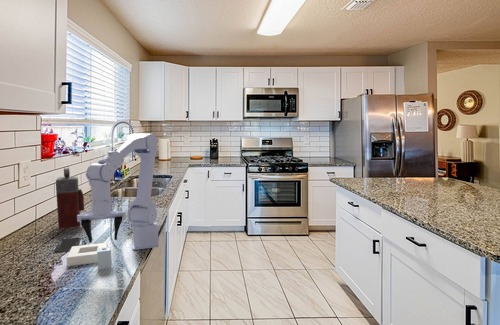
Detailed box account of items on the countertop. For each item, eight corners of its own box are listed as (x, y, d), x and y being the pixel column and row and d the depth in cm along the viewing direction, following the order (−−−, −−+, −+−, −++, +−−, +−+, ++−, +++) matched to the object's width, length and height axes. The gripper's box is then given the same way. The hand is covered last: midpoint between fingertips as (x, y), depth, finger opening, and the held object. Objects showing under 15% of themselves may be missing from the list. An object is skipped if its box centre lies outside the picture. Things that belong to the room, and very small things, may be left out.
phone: (54, 250, 127) (60, 239, 141) (54, 253, 127) (60, 242, 141) (77, 248, 130) (81, 237, 144) (77, 251, 130) (81, 239, 144)
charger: (111, 263, 116) (110, 245, 116) (111, 268, 112) (110, 249, 112) (99, 265, 115) (98, 247, 114) (98, 269, 111) (97, 251, 110)
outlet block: (107, 250, 129) (107, 242, 129) (105, 261, 118) (105, 252, 118) (72, 254, 125) (72, 246, 125) (67, 266, 114) (66, 257, 114)
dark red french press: (85, 226, 164) (82, 168, 161) (58, 229, 159) (54, 169, 157) (85, 221, 172) (82, 166, 170) (60, 224, 167) (56, 167, 165)
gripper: (74, 204, 105) (77, 247, 107) (124, 200, 110) (126, 241, 111) (78, 200, 112) (80, 240, 113) (125, 196, 117) (126, 235, 118)
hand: (103, 240), depth 113 cm, fingers open, 7 cm apart
